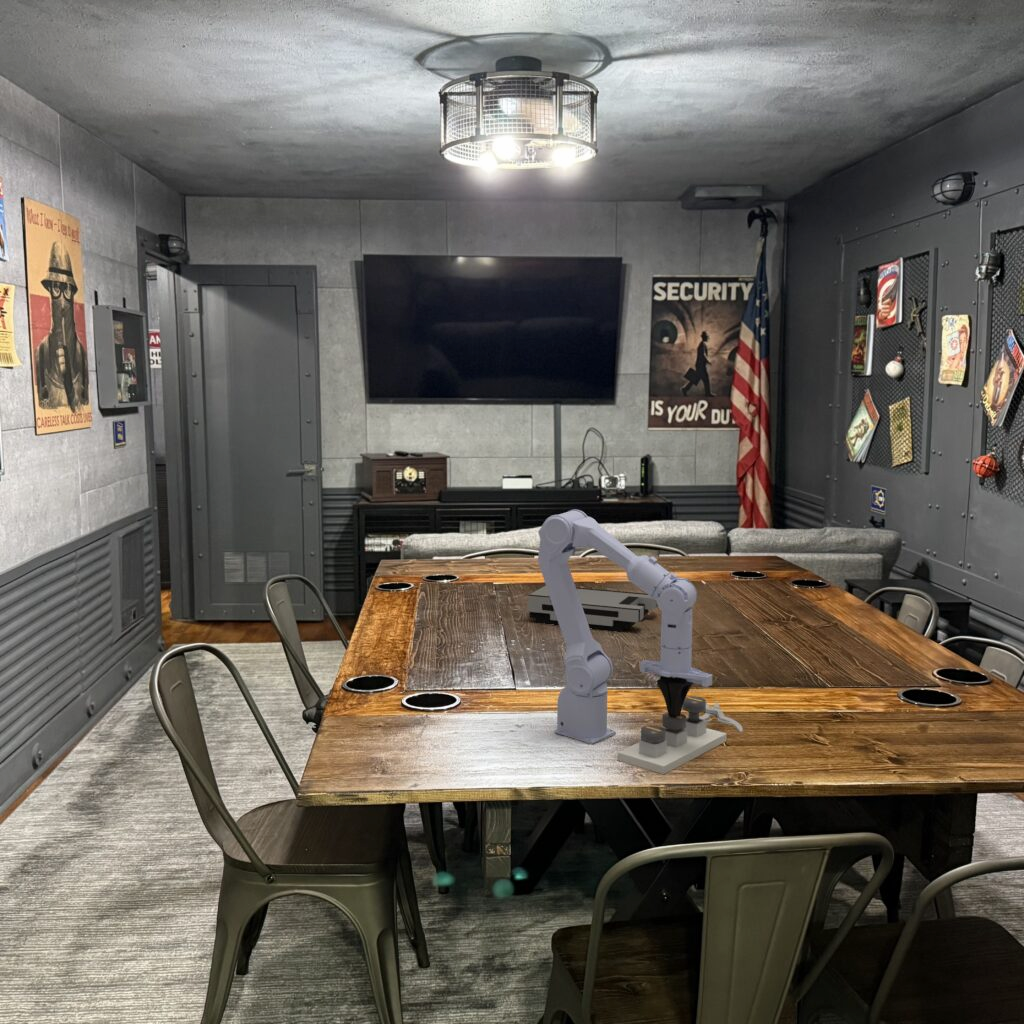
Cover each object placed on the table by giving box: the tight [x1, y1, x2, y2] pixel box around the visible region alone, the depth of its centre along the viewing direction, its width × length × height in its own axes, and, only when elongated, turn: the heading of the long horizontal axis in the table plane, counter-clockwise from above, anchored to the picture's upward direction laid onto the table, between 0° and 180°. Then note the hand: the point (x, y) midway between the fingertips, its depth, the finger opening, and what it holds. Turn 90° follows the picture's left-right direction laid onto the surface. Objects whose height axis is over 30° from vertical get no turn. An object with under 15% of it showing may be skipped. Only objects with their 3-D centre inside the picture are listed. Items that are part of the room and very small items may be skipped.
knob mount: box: [617, 716, 728, 775], centre depth 195 cm, size 10×22×4 cm, turn 139°
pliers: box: [699, 702, 744, 734], centre depth 212 cm, size 10×2×15 cm
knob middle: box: [661, 712, 687, 733], centre depth 194 cm, size 4×4×4 cm
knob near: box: [640, 724, 666, 744], centre depth 189 cm, size 4×4×4 cm
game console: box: [526, 582, 658, 633], centre depth 293 cm, size 21×32×8 cm, turn 68°
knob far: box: [682, 695, 707, 723], centre depth 199 cm, size 4×4×4 cm
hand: (674, 715), depth 194 cm, fingers closed, pressing on knob middle
